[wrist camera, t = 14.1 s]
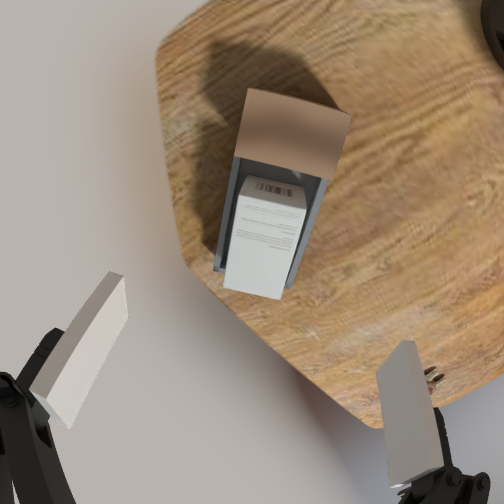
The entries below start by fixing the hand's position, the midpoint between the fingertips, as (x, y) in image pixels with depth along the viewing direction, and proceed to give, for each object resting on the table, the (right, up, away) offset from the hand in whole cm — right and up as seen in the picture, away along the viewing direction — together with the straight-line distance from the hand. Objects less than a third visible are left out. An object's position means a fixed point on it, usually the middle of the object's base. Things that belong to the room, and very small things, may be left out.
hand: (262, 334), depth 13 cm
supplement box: (+2, +11, +20) cm, 22 cm away
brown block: (+4, +18, +19) cm, 27 cm away
